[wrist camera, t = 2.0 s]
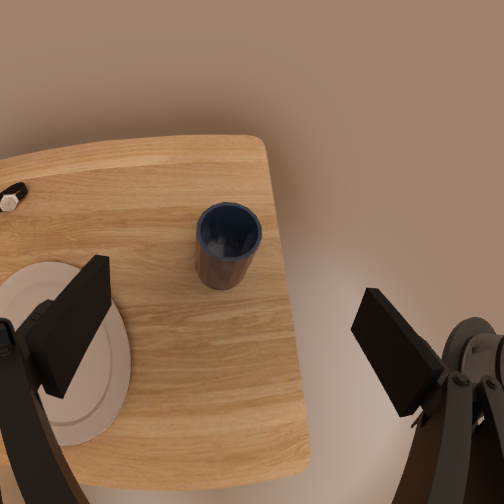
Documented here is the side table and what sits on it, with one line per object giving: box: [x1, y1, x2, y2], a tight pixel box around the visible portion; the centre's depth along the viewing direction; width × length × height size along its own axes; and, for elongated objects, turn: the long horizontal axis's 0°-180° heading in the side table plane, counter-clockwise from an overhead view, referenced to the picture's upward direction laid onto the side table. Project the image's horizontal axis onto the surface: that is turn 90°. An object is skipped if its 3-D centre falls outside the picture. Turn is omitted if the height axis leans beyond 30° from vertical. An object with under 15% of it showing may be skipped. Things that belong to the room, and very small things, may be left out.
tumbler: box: [196, 202, 262, 290], centre depth 35 cm, size 7×7×11 cm
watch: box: [0, 182, 27, 212], centre depth 36 cm, size 8×5×4 cm, turn 120°
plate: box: [0, 262, 131, 446], centre depth 30 cm, size 26×26×2 cm
